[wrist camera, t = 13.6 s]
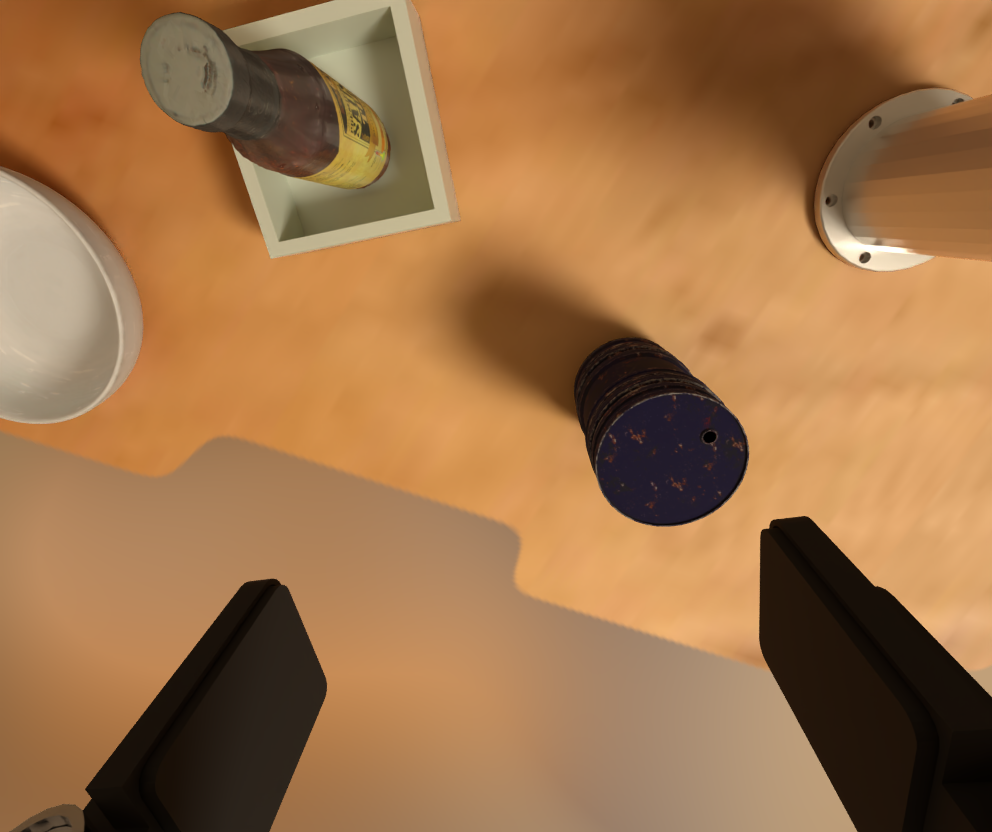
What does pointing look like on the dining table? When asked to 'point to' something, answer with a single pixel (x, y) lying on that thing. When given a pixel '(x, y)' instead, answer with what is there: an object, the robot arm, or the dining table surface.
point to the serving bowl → (60, 307)
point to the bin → (398, 103)
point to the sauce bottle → (264, 104)
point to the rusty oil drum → (657, 434)
